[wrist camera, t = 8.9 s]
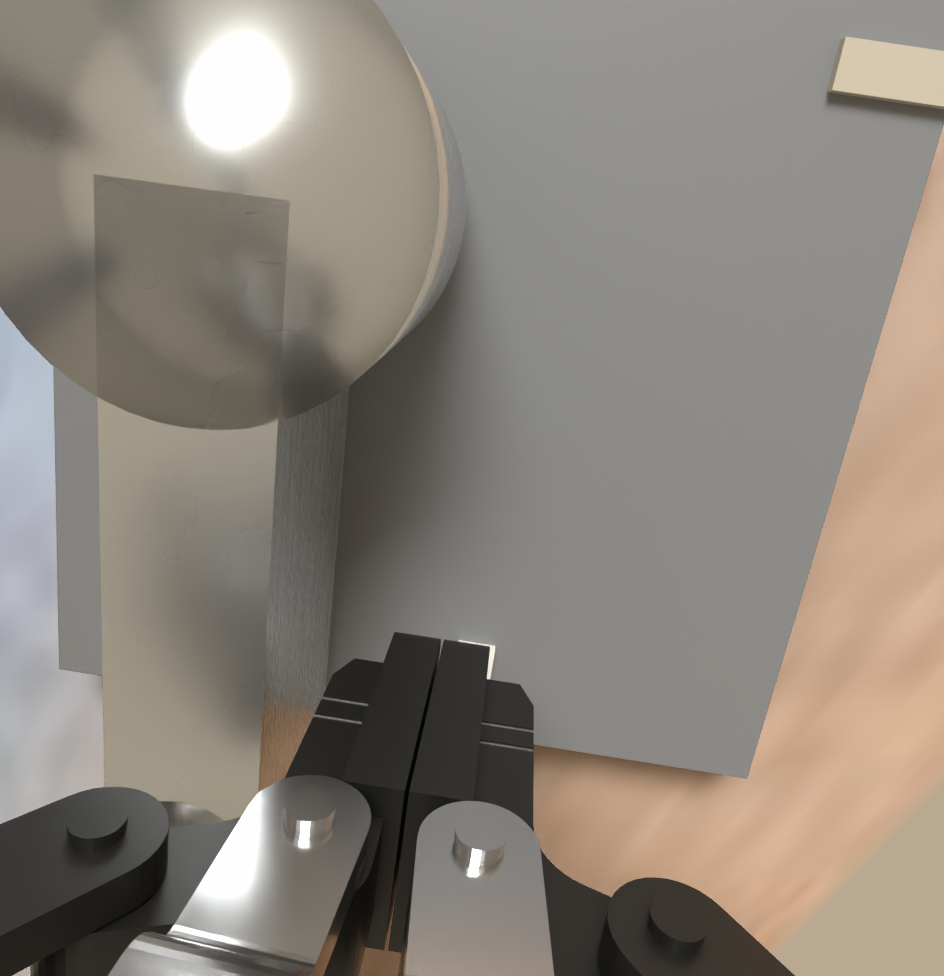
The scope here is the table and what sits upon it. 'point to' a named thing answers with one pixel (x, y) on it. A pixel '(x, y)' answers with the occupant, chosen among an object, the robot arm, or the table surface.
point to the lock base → (617, 357)
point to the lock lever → (218, 335)
